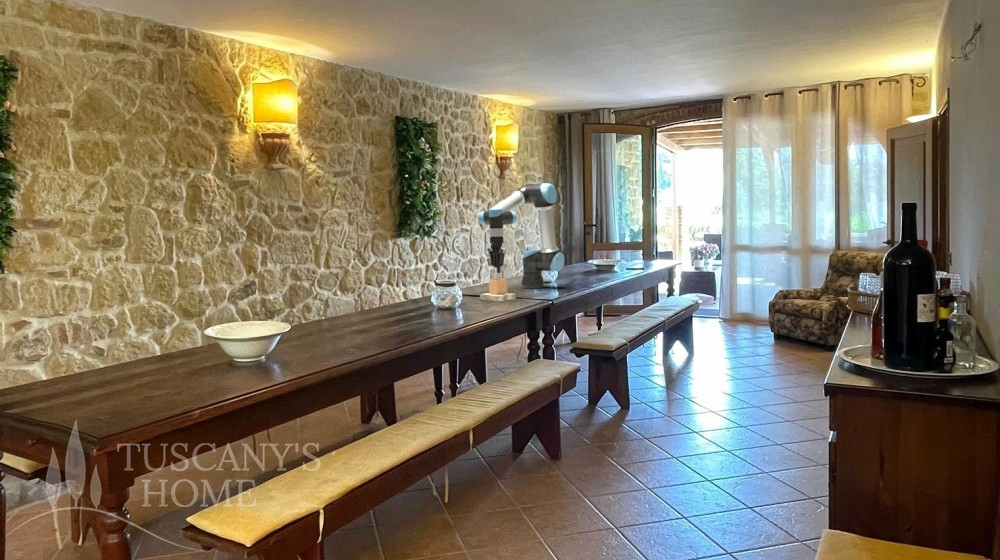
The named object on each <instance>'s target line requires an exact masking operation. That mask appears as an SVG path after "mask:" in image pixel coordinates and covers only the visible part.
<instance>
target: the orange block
mask: <svg viewBox="0 0 1000 560" xmlns="http://www.w3.org/2000/svg"><path fill="white" fill-rule="evenodd" d="M488 289H489V290H488V293H489V294H492V295H502V294H507V293H508V279H506V278H500V279H495V278H494V279H492V278H491V279H488Z"/></svg>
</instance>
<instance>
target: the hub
mask: <svg viewBox="0 0 1000 560" xmlns="http://www.w3.org/2000/svg"><path fill="white" fill-rule="evenodd" d="M479 299H480V300H481V301H489V302H495V303H500V302H505V301H512V300H517V294H516V293H514V292H513V293H512V292H507V294H502V295H492V294H489V292H488V293H487V292H486V293H480V294H479Z"/></svg>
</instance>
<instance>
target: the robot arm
mask: <svg viewBox="0 0 1000 560" xmlns="http://www.w3.org/2000/svg"><path fill="white" fill-rule="evenodd" d="M557 197H558V193H557V190H556V188H555V186H554V185H553V184H551V183H545V182H544V183H543V182H542V183H541V182H540V183H528V184H524V185H522V186H521V187H518V188H517V189H516V190H514V191H513V192H512V193H511V194H510V195H509V196H508V197H506V198H504V200H501V201H500V202H499V203H496V204H495V205H494V206H492V207H491V208H489V209H487V210H484V211H480V212H479V213H478V214H477V215H478V216H477V219H478V223H479V224H480V225H485V226H488V225H489V244H491V245H490V248H488V249H487V251H488V254H489V259H490V265H491V266H492V267H493V272H494V279H501V271H502V270H501V267H503V266H504V262H505V255H506V254H505V253H506V252H507V249H506V248H504V246H503V244H504V226H505V225H506V226H507V225H514V224H515V223H516V222H517V217H518V216H517V214H516V212H515V211H513V210H514V209H515V208H517V207H522V206H523V205H526V204H527V205H528V204H533V205H534V208H535V209H536V210H537V216H538V224H539V231H540V233H539V234H540V241H541V249H535V250H528V251H524V252H523V253H522V268H523V269H522V279H521V282H520V288H522V289H544V288H545V286H546V283H545V282H544V281H545V280H544V277H543V272H553V273H555V272H559V271H561V270H562V268H563V266H564V264H565V256H564V254H563V253H562V252H561V251H560V248H559V247H558V246H557V242H556V241H557V240H556V234H555V224H554V216H553V207H554V206H555V202H556V201H557Z"/></svg>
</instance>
